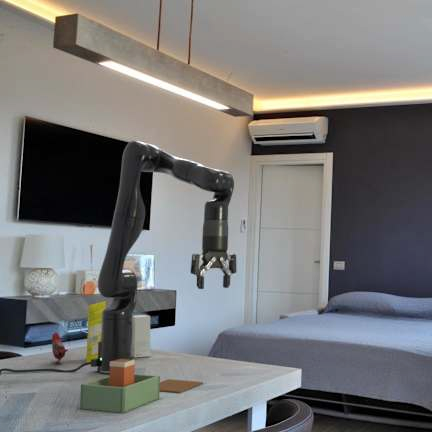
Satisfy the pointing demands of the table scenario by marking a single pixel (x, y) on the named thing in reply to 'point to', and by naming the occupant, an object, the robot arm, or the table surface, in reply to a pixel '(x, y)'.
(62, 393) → the table surface
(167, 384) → the cork mat
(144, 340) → the cosmetic box
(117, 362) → the tea packet
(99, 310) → the food package
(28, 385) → the table surface
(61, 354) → the decorative bird figurine
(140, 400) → the bin
